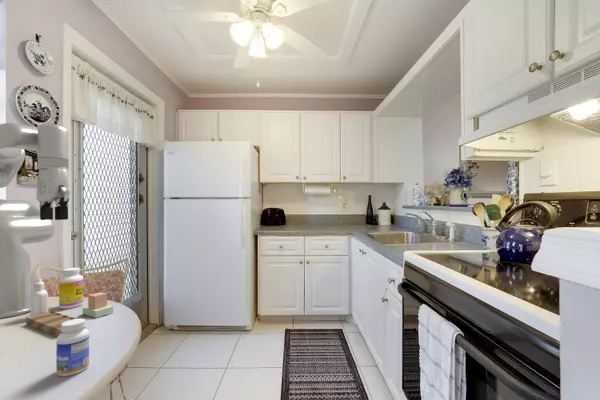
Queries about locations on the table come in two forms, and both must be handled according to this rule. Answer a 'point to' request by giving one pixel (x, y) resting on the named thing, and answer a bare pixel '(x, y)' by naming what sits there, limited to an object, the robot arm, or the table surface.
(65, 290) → the supplement bottle
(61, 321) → the board
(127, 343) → the table surface
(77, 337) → the pill bottle
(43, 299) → the eye dropper bottle
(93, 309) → the stub
